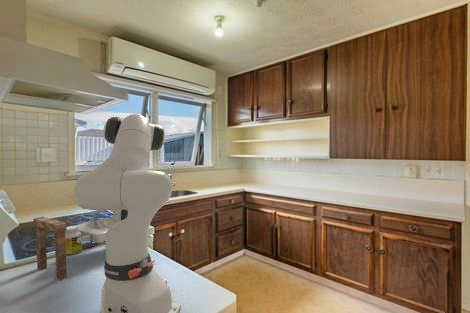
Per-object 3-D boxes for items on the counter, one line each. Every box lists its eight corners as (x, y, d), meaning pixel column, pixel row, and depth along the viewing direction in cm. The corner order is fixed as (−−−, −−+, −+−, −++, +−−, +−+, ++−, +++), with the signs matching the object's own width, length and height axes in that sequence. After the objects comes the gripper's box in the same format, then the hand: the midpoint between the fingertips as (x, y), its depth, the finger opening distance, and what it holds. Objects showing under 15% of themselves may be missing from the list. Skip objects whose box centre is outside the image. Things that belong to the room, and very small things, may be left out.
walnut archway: (68, 277, 90) (66, 222, 89) (59, 280, 87) (56, 225, 87) (44, 265, 99) (42, 216, 99) (35, 269, 97) (33, 218, 96)
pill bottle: (73, 258, 97) (72, 230, 96) (59, 257, 98) (58, 229, 97) (85, 252, 103) (84, 225, 102) (72, 251, 104) (71, 224, 103)
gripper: (119, 239, 106) (86, 251, 94) (91, 232, 117) (58, 242, 105) (118, 225, 106) (85, 235, 94) (91, 218, 117) (57, 227, 105)
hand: (71, 238), depth 100 cm, fingers closed on pill bottle, 6 cm apart
